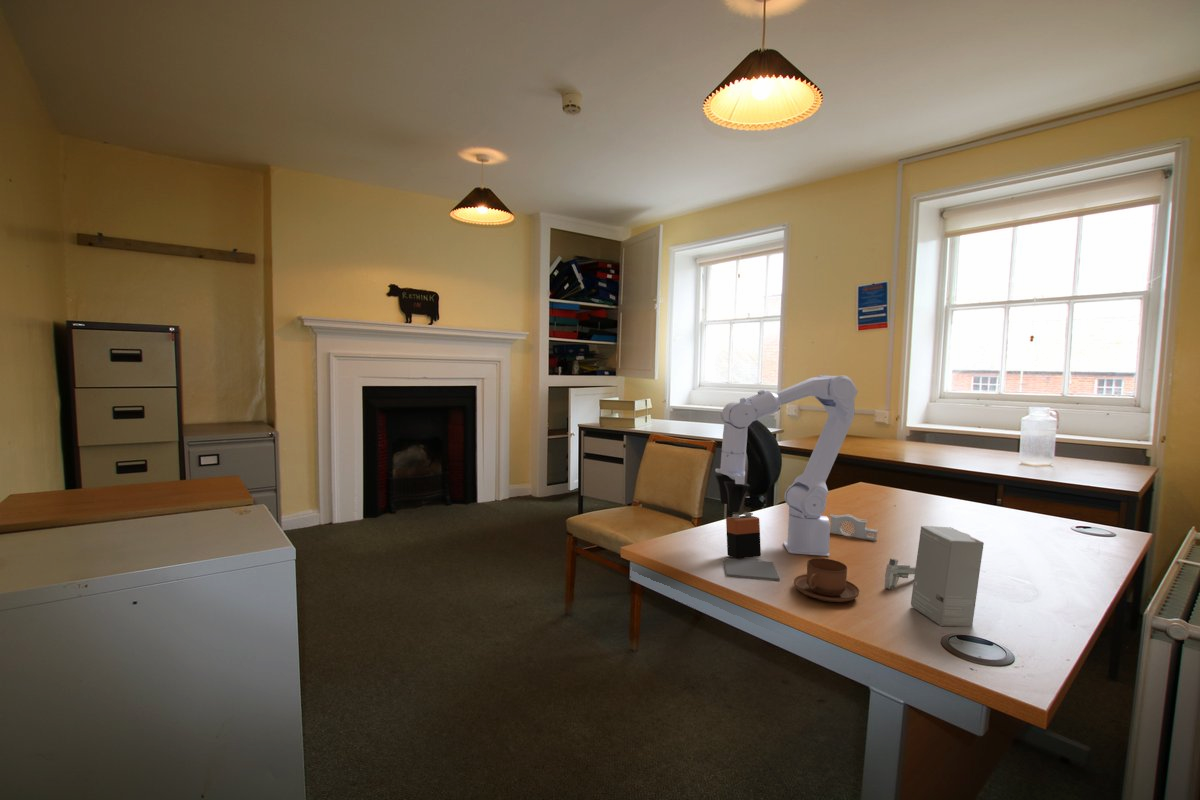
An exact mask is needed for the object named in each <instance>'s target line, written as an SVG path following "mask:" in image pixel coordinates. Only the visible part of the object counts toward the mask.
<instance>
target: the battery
mask: <svg viewBox="0 0 1200 800" xmlns="http://www.w3.org/2000/svg"><path fill="white" fill-rule="evenodd" d="M753 515H754V513H753V512H743V515H740V514H739V513H736V514H735V513H734V514H732V516H727V517H726V519H725V521H726V522H725V524H726V525H725V527H726V547H727V548H726V550H727V555H728V556H729V557H731V558H732V559H741V560H744V559H751V558H758V557H761V555H762V549H761V527H760V526H761V525H760V518H759V517H757V516H755V515H754V516H753Z"/></svg>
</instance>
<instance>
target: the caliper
mask: <svg viewBox="0 0 1200 800" xmlns="http://www.w3.org/2000/svg"><path fill="white" fill-rule="evenodd" d="M886 565H887V566H886V568H885V575H884V588H885V589H887V590H891V588H892V589H896V588H897V585H898V582H899V581H900V578H902V579H909V575H915V569H916V565H912V566H911V565H909V564H906V563H899V559H896V558H889V561H888V563H887V564H886Z"/></svg>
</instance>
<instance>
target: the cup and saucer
mask: <svg viewBox="0 0 1200 800" xmlns="http://www.w3.org/2000/svg"><path fill="white" fill-rule="evenodd" d="M847 574H848V566H847V565H846V564H845V563H843V562H841V561H838V560H835V559H830V558H823V557H821V558H820V557H815V558H810V559H808V560H807V562H806V573H805V574H800V575H798V576H796V577H795V578H794V579H793V582H794V586H795V588H797V590H799V592H800V593H802V594H804V595H805V596H808V597H810V598H813V599H814V600H815V599H816V600H819V601H824V602H829V603H845V602H846V603H847V602H850V601H853V600H855V599H856V598H857V597H858V596H859V594H860V590H859V588H858V586H857V585H856V584H854V583H853V582H851V581H848V580H847V577H848V575H847Z"/></svg>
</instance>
